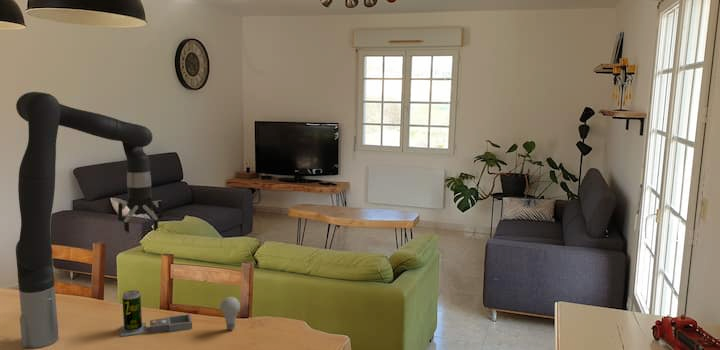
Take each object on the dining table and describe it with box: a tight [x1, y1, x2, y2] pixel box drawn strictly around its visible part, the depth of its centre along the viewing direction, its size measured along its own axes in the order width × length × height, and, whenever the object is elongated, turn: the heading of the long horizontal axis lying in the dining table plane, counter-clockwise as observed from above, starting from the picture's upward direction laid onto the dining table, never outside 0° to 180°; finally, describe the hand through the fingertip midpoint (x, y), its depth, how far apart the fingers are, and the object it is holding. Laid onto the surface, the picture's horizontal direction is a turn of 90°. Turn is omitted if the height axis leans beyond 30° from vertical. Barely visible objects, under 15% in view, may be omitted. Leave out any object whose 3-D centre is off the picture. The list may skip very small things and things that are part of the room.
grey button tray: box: [149, 313, 193, 334], centre depth 179 cm, size 12×7×3 cm, turn 113°
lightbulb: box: [220, 296, 241, 331], centre depth 177 cm, size 6×6×11 cm
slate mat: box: [120, 322, 148, 338], centre depth 177 cm, size 8×8×1 cm
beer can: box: [121, 289, 143, 332], centre depth 176 cm, size 5×5×12 cm
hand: (141, 231), depth 189 cm, fingers open, 8 cm apart
